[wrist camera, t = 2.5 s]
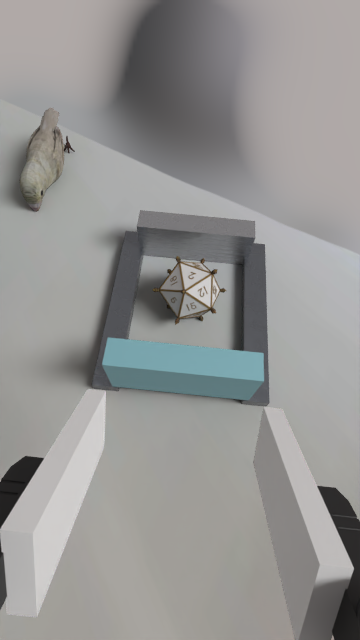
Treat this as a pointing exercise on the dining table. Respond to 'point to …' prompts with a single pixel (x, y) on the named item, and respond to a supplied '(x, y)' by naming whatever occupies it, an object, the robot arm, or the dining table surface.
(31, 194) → the decorative bird
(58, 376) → the dining table surface
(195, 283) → the game die
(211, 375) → the sliding jaw
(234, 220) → the vise base
